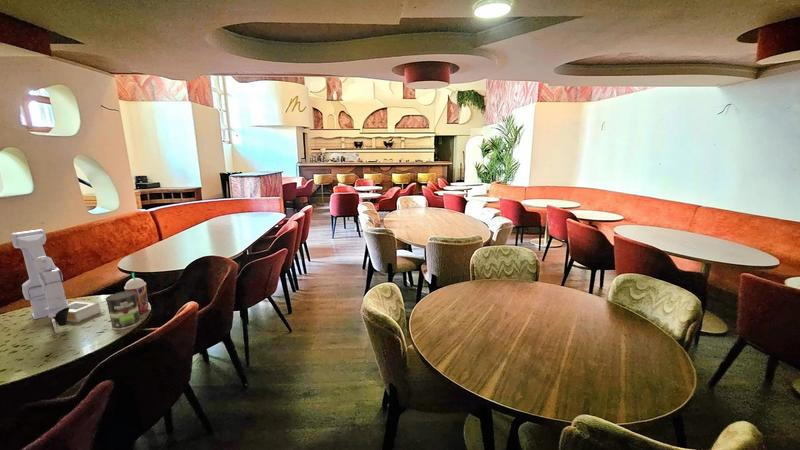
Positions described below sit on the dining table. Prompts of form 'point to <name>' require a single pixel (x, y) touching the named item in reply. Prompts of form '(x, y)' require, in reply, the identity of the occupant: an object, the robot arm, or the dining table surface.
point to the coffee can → (123, 310)
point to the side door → (54, 325)
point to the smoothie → (138, 292)
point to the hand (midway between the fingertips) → (63, 325)
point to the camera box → (82, 310)
